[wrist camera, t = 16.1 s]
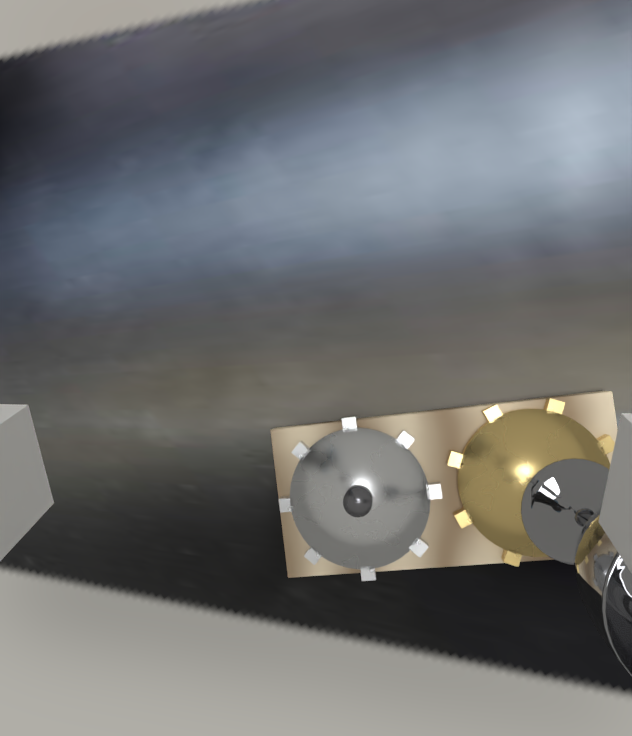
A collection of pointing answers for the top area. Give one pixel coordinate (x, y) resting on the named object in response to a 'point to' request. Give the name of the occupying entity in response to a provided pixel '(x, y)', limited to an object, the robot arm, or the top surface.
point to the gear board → (427, 482)
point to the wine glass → (582, 544)
